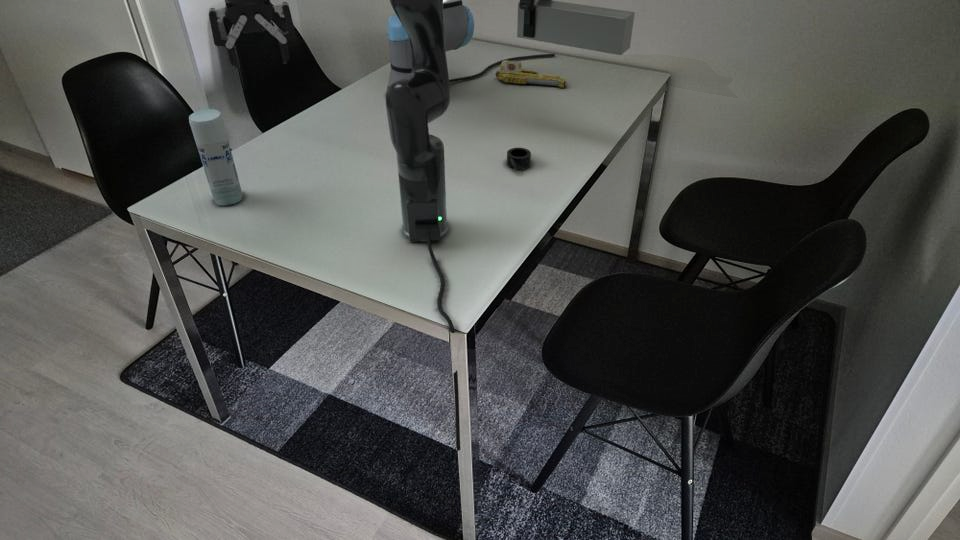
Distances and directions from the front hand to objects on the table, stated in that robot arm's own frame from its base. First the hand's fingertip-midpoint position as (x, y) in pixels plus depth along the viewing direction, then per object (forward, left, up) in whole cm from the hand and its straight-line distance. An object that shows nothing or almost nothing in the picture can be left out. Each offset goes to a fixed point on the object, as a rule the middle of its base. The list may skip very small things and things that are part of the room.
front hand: (261, 64), depth 117 cm
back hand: (+44, -56, -8) cm, 72 cm away
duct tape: (+20, -51, -33) cm, 64 cm away
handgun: (+78, -60, -33) cm, 103 cm away
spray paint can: (+6, +16, -33) cm, 37 cm away
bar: (+38, -65, -9) cm, 76 cm away
